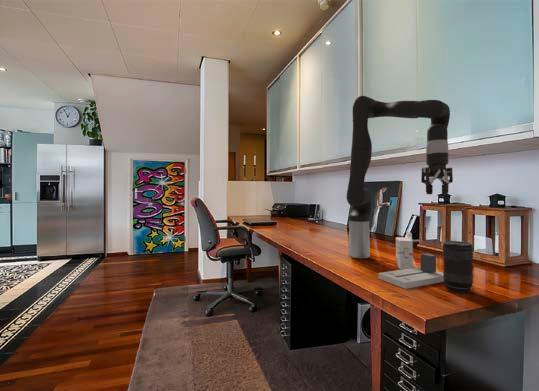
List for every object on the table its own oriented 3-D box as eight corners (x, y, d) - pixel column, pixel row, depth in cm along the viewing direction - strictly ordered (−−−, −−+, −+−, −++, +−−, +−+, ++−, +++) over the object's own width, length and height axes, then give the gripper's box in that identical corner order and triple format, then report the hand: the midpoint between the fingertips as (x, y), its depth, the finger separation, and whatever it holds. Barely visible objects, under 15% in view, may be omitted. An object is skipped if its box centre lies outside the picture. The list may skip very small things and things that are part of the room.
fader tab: (420, 270, 107) (420, 253, 107) (426, 269, 108) (426, 253, 108) (430, 273, 104) (430, 256, 104) (436, 272, 105) (436, 255, 105)
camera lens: (445, 283, 98) (444, 239, 98) (474, 288, 93) (474, 242, 93) (440, 290, 92) (440, 243, 92) (471, 296, 87) (471, 246, 87)
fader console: (378, 278, 105) (378, 272, 105) (421, 271, 113) (421, 266, 113) (405, 288, 94) (405, 282, 94) (450, 280, 102) (450, 274, 102)
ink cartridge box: (395, 264, 125) (395, 230, 125) (407, 264, 124) (407, 230, 124) (399, 269, 117) (399, 233, 116) (413, 270, 116) (413, 233, 115)
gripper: (441, 154, 120) (441, 193, 120) (415, 153, 115) (415, 194, 115) (459, 152, 113) (459, 193, 113) (432, 150, 108) (432, 194, 108)
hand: (437, 194), depth 114 cm, fingers open, 8 cm apart
